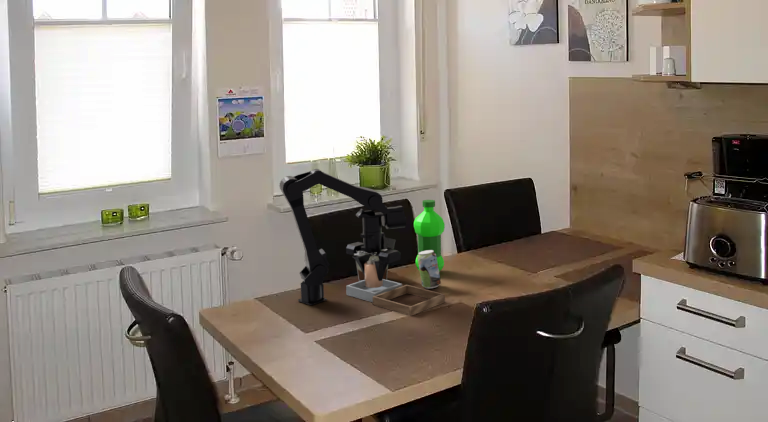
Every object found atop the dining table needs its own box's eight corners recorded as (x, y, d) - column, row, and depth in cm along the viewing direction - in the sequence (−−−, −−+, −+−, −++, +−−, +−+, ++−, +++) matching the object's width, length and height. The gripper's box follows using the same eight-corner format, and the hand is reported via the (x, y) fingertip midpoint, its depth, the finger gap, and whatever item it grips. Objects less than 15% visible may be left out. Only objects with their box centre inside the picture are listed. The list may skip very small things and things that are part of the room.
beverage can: (439, 290, 252) (439, 253, 249) (416, 289, 253) (415, 253, 251) (442, 284, 258) (441, 248, 255) (419, 283, 259) (418, 248, 257)
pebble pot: (374, 288, 246) (373, 263, 244) (361, 285, 250) (360, 260, 248) (386, 284, 250) (385, 259, 248) (373, 281, 254) (373, 256, 252)
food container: (392, 275, 269) (392, 246, 267) (391, 280, 263) (390, 251, 261) (356, 275, 271) (355, 246, 269) (354, 280, 265) (353, 251, 263)
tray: (374, 302, 242) (374, 293, 241) (346, 294, 250) (346, 285, 250) (402, 292, 251) (402, 283, 250) (374, 285, 259) (373, 276, 258)
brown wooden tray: (410, 315, 230) (410, 307, 229) (372, 304, 240) (372, 296, 240) (444, 302, 241) (444, 294, 240) (406, 292, 251) (406, 284, 251)
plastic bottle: (428, 279, 264) (427, 205, 259) (408, 272, 272) (407, 200, 267) (451, 273, 270) (450, 201, 264) (431, 267, 278) (429, 196, 273)
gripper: (412, 229, 245) (413, 278, 249) (369, 221, 258) (370, 268, 261) (387, 236, 238) (388, 287, 241) (344, 227, 250) (345, 275, 254)
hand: (373, 278), depth 249 cm, fingers closed on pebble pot, 6 cm apart
